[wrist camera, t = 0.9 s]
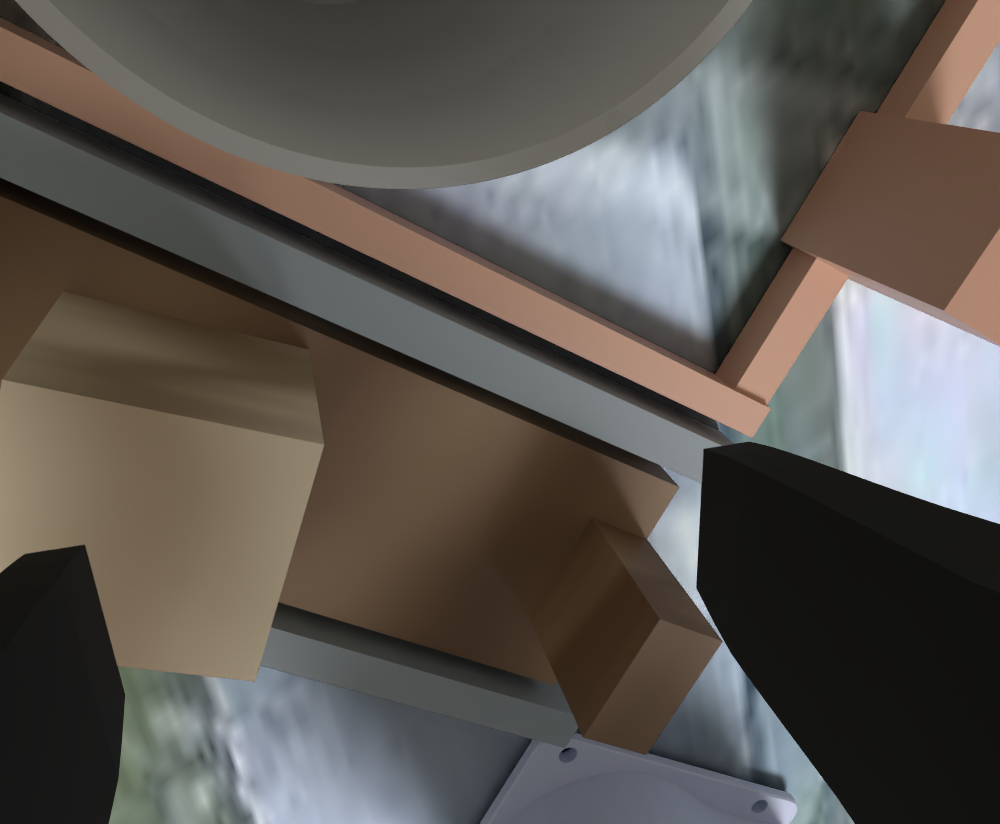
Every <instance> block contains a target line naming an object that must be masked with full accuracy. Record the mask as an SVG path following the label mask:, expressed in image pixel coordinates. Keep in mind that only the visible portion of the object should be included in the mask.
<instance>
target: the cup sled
mask: <svg viewBox="0 0 1000 824" xmlns="http://www.w3.org/2000/svg"><path fill="white" fill-rule="evenodd" d="M999 41H1000V0H946V1H945V2H944V4H943V6H942V7H941V9H940V10H939V12H938V14H937V15H936V17H935V19H934V20H933V22H932V23H931V25H930V27H929V28H928V30H927V32H926V33H925V35H924V36H923V38H922V40H921V41H920V43H919V44H918V46H917V48H916V49H915V51H914V53H913V54H912V56H911V57H910V59H909V61H908V62H907V64H906V66H905V67H904V69H903V70H902V72H901V74H900V75H899V77H898V79H897V80H896V82H895V83H894V85H893V87H892V88H891V90H890V91H889V93H888V95H887V96H886V98H885V100H884V101H883V103H882V104H881V106H880V108H879V109H878V111H877V113H872V112H866V111H859V113H858V114H857V116H856V117H855V119H854V121H853V122H852V124H851V126H850V127H849V129H848V131H847V132H846V134H845V135H844V137H843V139H842V140H841V142H840V144H839V145H838V147H837V149H836V150H835V152H834V153H833V155H832V157H831V158H830V160H829V162H828V163H827V165H826V167H825V168H824V170H823V171H822V173H821V175H820V176H819V178H818V180H817V181H816V183H815V184H814V186H813V188H812V189H811V191H810V193H809V194H808V196H807V198H806V199H805V201H804V202H803V204H802V206H801V207H800V209H799V211H798V212H797V214H796V216H795V217H794V219H793V220H792V222H791V224H790V225H789V227H788V229H787V230H786V232H785V234H784V235H783V237H782V238H781V241H783V242H784V243H786V244H788V245H789V246H791V247H793V249H792V250H791V252H790V254H789V255H788V257H787V258H786V260H785V262H784V263H783V265H782V267H781V268H780V270H779V271H778V273H777V275H776V276H775V278H774V280H773V281H772V283H771V284H770V286H769V288H768V289H767V291H766V293H765V294H764V296H763V297H762V299H761V301H760V302H759V304H758V306H757V307H756V309H755V310H754V312H753V314H752V315H751V317H750V318H749V320H748V322H747V323H746V325H745V327H744V328H743V330H742V331H741V333H740V335H739V336H738V338H737V340H736V341H735V343H734V344H733V346H732V348H731V349H730V351H729V353H728V354H727V356H726V357H725V359H724V361H723V362H722V364H721V365H720V367H719V369H718V370H717V372H716V374H714V373H712V372H710V371H708V370H706V369H704V368H702V367H699V366H697V365H695V364H693V363H691V362H689V361H687V360H685V359H683V358H681V357H679V356H677V355H675V354H673V353H671V352H669V351H667V350H665V349H663V348H661V347H659V346H657V345H655V344H653V343H651V342H649V341H647V340H645V339H643V338H641V337H639V336H637V335H635V334H633V333H631V332H629V331H627V330H625V329H623V328H621V327H619V326H617V325H615V324H613V323H611V322H609V321H607V320H605V319H603V318H601V317H599V316H597V315H595V314H593V313H591V312H589V311H587V310H585V309H583V308H581V307H579V306H577V305H575V304H573V303H571V302H569V301H567V300H565V299H563V298H561V297H559V296H557V295H555V294H553V293H551V292H549V291H547V290H545V289H543V288H541V287H539V286H537V285H535V284H533V283H531V282H529V281H527V280H525V279H523V278H521V277H519V276H517V275H515V274H513V273H511V272H509V271H507V270H505V269H503V268H501V267H499V266H497V265H495V264H493V263H491V262H489V261H487V260H485V259H483V258H481V257H479V256H477V255H475V254H473V253H471V252H469V251H467V250H465V249H463V248H461V247H459V246H457V245H455V244H453V243H451V242H449V241H447V240H445V239H443V238H441V237H439V236H437V235H435V234H433V233H431V232H429V231H427V230H425V229H423V228H421V227H419V226H417V225H415V224H413V223H411V222H409V221H407V220H405V219H403V218H401V217H399V216H397V215H395V214H393V213H391V212H389V211H387V210H385V209H383V208H381V207H379V206H377V205H375V204H373V203H371V202H369V201H367V200H365V199H363V198H361V197H359V196H357V195H355V194H353V193H351V192H349V191H347V190H345V189H343V188H341V187H339V186H337V185H335V184H333V183H329V182H324V181H319V180H314V179H309V178H305V177H301V176H297V175H293V174H289V173H285V172H282V171H278V170H275V169H272V168H268V167H265V166H262V165H259V164H257V163H254V162H251V161H248V160H245V159H243V158H240V157H238V156H235V155H233V154H230V153H228V152H225V151H223V150H220V149H218V148H216V147H214V146H212V145H210V144H207V143H205V142H203V141H201V140H199V139H197V138H195V137H193V136H191V135H189V134H187V133H185V132H183V131H181V130H179V129H177V128H176V127H174V126H172V125H170V124H169V123H167V122H165V121H163V120H162V119H160V118H158V117H157V116H155V115H153V114H152V113H150V112H148V111H147V110H145V109H144V108H142V107H141V106H139V105H137V104H136V103H134V102H133V101H131V100H130V99H128V98H127V97H126V96H124V95H123V94H121V93H120V92H118V91H117V90H116V89H114V88H113V87H111V86H110V85H109V84H107V83H106V82H105V81H103V80H102V79H101V78H99V77H98V76H97V75H95V74H94V73H93V72H92V71H90V70H89V69H88V68H87V67H85V66H84V65H83V64H82V63H81V62H79V61H78V60H77V59H76V58H75V57H73V56H72V55H71V54H70V53H69V52H67V51H66V50H65V49H63V48H61V47H59V46H57V45H55V44H53V43H51V42H49V41H47V40H45V39H43V38H41V37H39V36H37V35H35V34H33V33H31V32H29V31H27V30H25V29H23V28H21V27H19V26H17V25H15V24H13V23H11V22H9V21H7V20H5V19H3V18H1V17H0V81H1V82H3V83H5V84H8V85H10V86H12V87H14V88H16V89H18V90H20V91H22V92H24V93H27V94H29V95H31V96H33V97H35V98H37V99H39V100H41V101H43V102H45V103H48V104H50V105H52V106H54V107H56V108H58V109H60V110H62V111H64V112H67V113H69V114H71V115H73V116H75V117H77V118H79V119H81V120H83V121H86V122H88V123H90V124H92V125H94V126H96V127H98V128H100V129H102V130H105V131H107V132H109V133H111V134H113V135H115V136H117V137H119V138H121V139H123V140H126V141H128V142H130V143H132V144H134V145H136V146H138V147H140V148H142V149H145V150H147V151H149V152H151V153H153V154H155V155H157V156H159V157H161V158H164V159H166V160H168V161H170V162H172V163H174V164H176V165H178V166H180V167H183V168H185V169H187V170H189V171H191V172H193V173H195V174H197V175H199V176H202V177H204V178H206V179H208V180H210V181H212V182H214V183H216V184H218V185H220V186H223V187H225V188H227V189H229V190H231V191H233V192H235V193H237V194H239V195H242V196H244V197H246V198H248V199H250V200H252V201H254V202H256V203H258V204H261V205H263V206H265V207H267V208H269V209H271V210H273V211H275V212H277V213H280V214H282V215H284V216H286V217H288V218H290V219H292V220H294V221H296V222H298V223H301V224H303V225H305V226H307V227H309V228H311V229H313V230H315V231H317V232H320V233H322V234H324V235H326V236H328V237H330V238H332V239H334V240H336V241H339V242H341V243H343V244H345V245H347V246H349V247H351V248H353V249H355V250H358V251H360V252H362V253H364V254H366V255H368V256H370V257H372V258H374V259H377V260H379V261H381V262H383V263H385V264H387V265H389V266H391V267H393V268H395V269H398V270H400V271H402V272H404V273H406V274H408V275H410V276H412V277H414V278H417V279H419V280H421V281H423V282H425V283H427V284H429V285H431V286H433V287H436V288H438V289H440V290H442V291H444V292H446V293H448V294H450V295H452V296H455V297H457V298H459V299H461V300H463V301H465V302H467V303H469V304H471V305H473V306H476V307H478V308H480V309H482V310H484V311H486V312H488V313H490V314H492V315H495V316H497V317H499V318H501V319H503V320H505V321H507V322H509V323H511V324H514V325H516V326H518V327H520V328H522V329H524V330H526V331H528V332H530V333H533V334H535V335H537V336H539V337H541V338H543V339H545V340H547V341H549V342H552V343H554V344H556V345H558V346H560V347H562V348H564V349H566V350H568V351H570V352H573V353H575V354H577V355H579V356H581V357H583V358H585V359H587V360H589V361H592V362H594V363H596V364H598V365H600V366H602V367H604V368H606V369H608V370H611V371H613V372H615V373H617V374H619V375H621V376H623V377H625V378H627V379H630V380H632V381H634V382H636V383H638V384H640V385H642V386H644V387H646V388H648V389H651V390H653V391H655V392H657V393H659V394H661V395H663V396H665V397H667V398H670V399H672V400H674V401H676V402H678V403H680V404H682V405H684V406H686V407H689V408H691V409H693V410H695V411H697V412H699V413H701V414H703V415H705V416H708V417H710V418H712V419H714V420H716V421H718V422H720V423H722V424H724V425H727V426H729V427H731V428H733V429H735V430H737V431H739V432H741V433H743V434H745V435H748V436H750V437H753V436H754V434H755V433H756V431H757V430H758V428H759V426H760V425H761V423H762V422H763V420H764V419H765V417H766V416H767V414H768V412H769V411H770V409H771V408H769V407H768V406H767V404H768V402H769V401H770V399H771V398H772V396H773V395H774V393H775V392H776V390H777V388H778V387H779V385H780V384H781V382H782V381H783V379H784V377H785V376H786V374H787V373H788V371H789V370H790V368H791V366H792V365H793V363H794V362H795V360H796V359H797V357H798V356H799V354H800V352H801V351H802V349H803V348H804V346H805V345H806V343H807V341H808V340H809V338H810V337H811V335H812V334H813V332H814V330H815V329H816V327H817V326H818V324H819V323H820V321H821V320H822V318H823V316H824V315H825V313H826V312H827V310H828V309H829V307H830V305H831V304H832V302H833V301H834V299H835V298H836V296H837V294H838V293H839V291H840V290H841V288H842V287H843V285H844V284H845V282H846V280H847V279H850V280H852V281H854V282H857V283H859V284H861V285H863V286H865V287H868V288H870V289H872V290H874V291H877V292H879V293H881V294H883V295H886V296H888V297H890V298H892V299H895V300H897V301H899V302H901V303H903V304H906V305H908V306H910V307H912V308H915V309H917V310H919V311H921V312H924V313H926V314H928V315H930V316H933V317H935V318H937V319H939V320H942V321H944V322H946V323H948V324H950V325H953V326H955V327H957V328H959V329H962V330H964V331H966V332H968V333H971V334H973V335H975V336H977V337H980V338H982V339H984V340H986V341H988V342H991V343H993V344H995V345H997V346H1000V133H997V132H990V131H984V130H978V129H972V128H965V127H959V126H953V125H947V122H948V121H949V119H950V118H951V116H952V114H953V113H954V111H955V110H956V108H957V107H958V105H959V103H960V102H961V100H962V99H963V97H964V96H965V94H966V93H967V91H968V89H969V88H970V86H971V85H972V83H973V82H974V80H975V78H976V77H977V75H978V74H979V72H980V71H981V69H982V67H983V66H984V64H985V63H986V61H987V60H988V58H989V57H990V55H991V53H992V52H993V50H994V49H995V47H996V46H997V44H998V42H999Z"/></svg>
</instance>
